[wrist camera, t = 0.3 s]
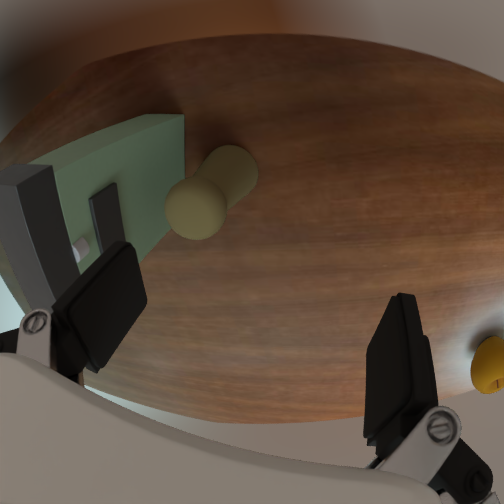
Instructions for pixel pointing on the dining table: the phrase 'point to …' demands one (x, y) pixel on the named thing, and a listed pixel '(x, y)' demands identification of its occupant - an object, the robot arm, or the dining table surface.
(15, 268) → the green box with lid
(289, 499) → the robot arm
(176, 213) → the pepper shaker
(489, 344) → the apple
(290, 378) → the dining table surface
